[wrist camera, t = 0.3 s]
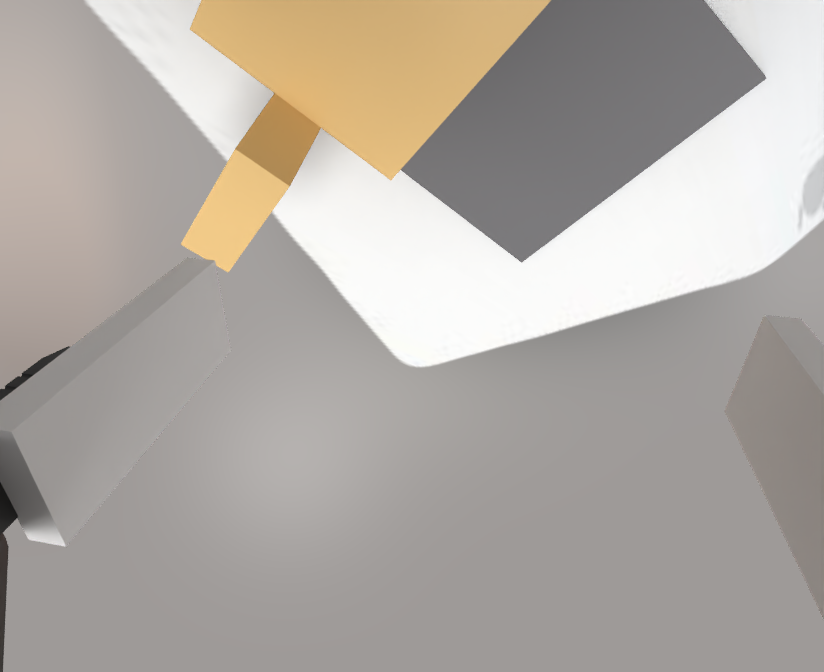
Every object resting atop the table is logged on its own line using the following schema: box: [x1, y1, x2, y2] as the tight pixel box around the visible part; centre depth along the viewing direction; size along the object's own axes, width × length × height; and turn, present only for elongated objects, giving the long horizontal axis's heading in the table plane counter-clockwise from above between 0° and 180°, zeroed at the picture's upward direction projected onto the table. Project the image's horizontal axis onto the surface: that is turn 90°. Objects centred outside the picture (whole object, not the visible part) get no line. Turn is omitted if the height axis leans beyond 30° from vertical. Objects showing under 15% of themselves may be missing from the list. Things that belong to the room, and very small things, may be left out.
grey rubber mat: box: [401, 0, 766, 262], centre depth 37 cm, size 20×14×1 cm
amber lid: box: [181, 0, 551, 272], centre depth 26 cm, size 27×13×8 cm, turn 142°
